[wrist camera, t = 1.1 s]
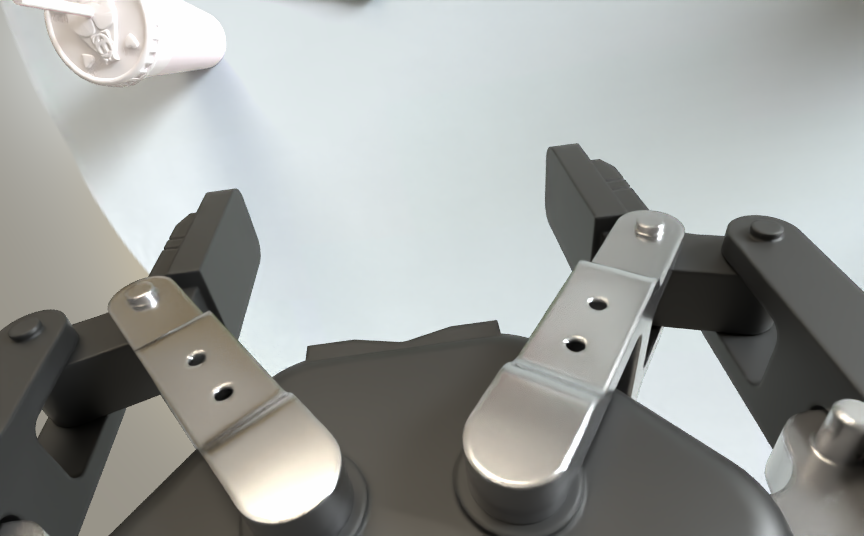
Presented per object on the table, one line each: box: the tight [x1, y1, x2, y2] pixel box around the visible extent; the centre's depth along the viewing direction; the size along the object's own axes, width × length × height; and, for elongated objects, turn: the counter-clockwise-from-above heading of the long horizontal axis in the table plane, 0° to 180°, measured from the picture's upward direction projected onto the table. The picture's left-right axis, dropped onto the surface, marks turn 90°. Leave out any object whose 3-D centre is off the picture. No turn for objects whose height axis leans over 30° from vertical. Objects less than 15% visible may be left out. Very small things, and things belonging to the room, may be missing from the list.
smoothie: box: [13, 0, 226, 87], centre depth 31 cm, size 6×6×14 cm
